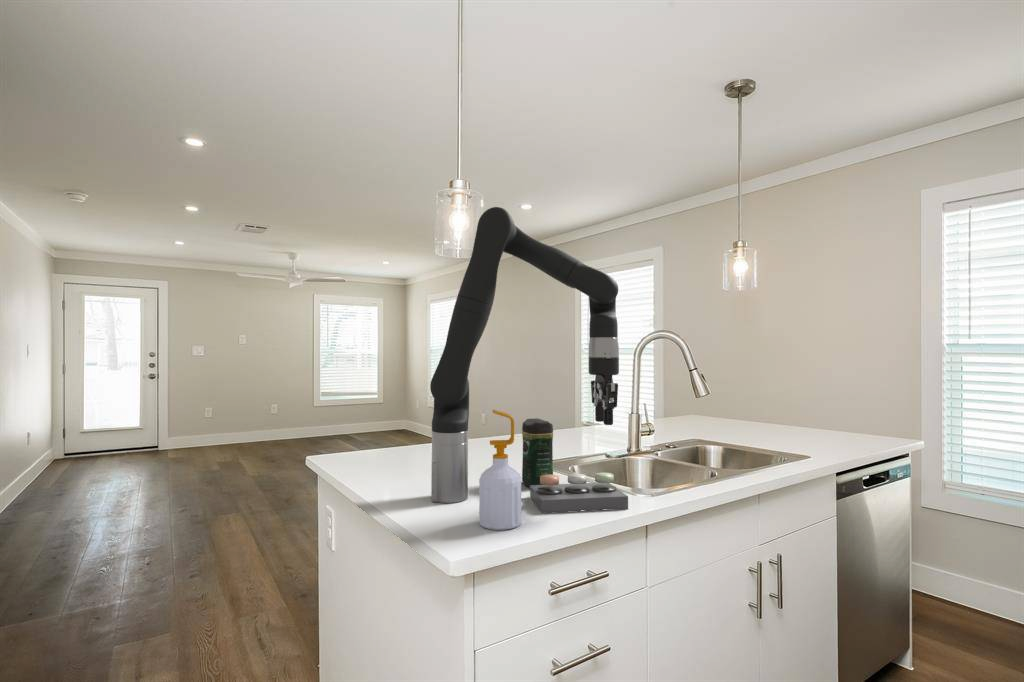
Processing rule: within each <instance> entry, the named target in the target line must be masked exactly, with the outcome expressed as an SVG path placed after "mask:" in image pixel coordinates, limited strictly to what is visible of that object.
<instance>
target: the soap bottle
mask: <svg viewBox="0 0 1024 682" xmlns="http://www.w3.org/2000/svg"><path fill="white" fill-rule="evenodd" d="M492 413H493V414H495V415H499V416H500V417H501V416H502V417H505V418H507V419H509V420H510V436H509V438H508V439H494V440H493V439H492V440H489V445H490V446H493V448H494V449H496V453H495V454H494V453H493V454H492V465H490V467H488V468H487V469H485V470H484V471H483V472H482V473H481V474H480V477H479V479H478V480H479V482H478V483H479V485H478V486H479V491H478V492H479V495H478V496H479V498H478V501H479V502H478V503H479V505H478V507H479V512H478V513H479V514H478V515H479V517H478V518H479V521H478V522H479V524H480V526H481V527H483V528H485V529H488V530H493V531H506V530H507V529H508V530H512V529H515V528H517V527H519V526H520V525H521V522H522V476H521V474H520V473H519V472H518V471H517V470H516V469H515V468H513V467H512V466H510V465H509V455H508V454H506V453H505V449H507V447H508V446H510V445H512V444H514V441H515V420H514V419H513V417H512V415H510V414H509V413H506V412H502V411H500V410H496V409H492Z"/></svg>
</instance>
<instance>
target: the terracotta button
mask: <svg viewBox="0 0 1024 682" xmlns="http://www.w3.org/2000/svg"><path fill="white" fill-rule="evenodd" d="M540 484H542V485H549V486H551V485H558V484H560V476H559V475H556V474H553V475H541V476H540Z"/></svg>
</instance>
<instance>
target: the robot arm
mask: <svg viewBox="0 0 1024 682" xmlns="http://www.w3.org/2000/svg"><path fill="white" fill-rule="evenodd" d="M474 237H475V238H474V243H473V247H472V253H471V257H470V260H469V263H468V265H467V267H466V270H465V273H464V276H463V278H462V282H461V284H460V288H459V291H458V293H457V296H456V300H455V304H454V306H453V310H452V314H451V318H450V322H449V326H448V331H447V335H446V341H445V345H444V349H443V350H442V354H441V357H440V359H439V362H438V364H437V366H436V369H435V371H434V373H433V375H432V378H431V380H430V384H429V386H430V387H429V388H430V393H431V395H432V397H433V414H432V419H431V475H430V477H431V486H430V487H431V492H430V493H431V497H430V498H431V502H432V503H435V502H436V503H445V504H446V503H447V504H449V503H450V504H452V503H460V502H463V501H466V500H467V499H469V496H468V495H469V479H468V478H469V417H470V382H469V378H468V377H469V372H470V368H471V367H470V366H471V362H472V360H473V359H472V358H473V356H474V353H475V351H476V349H477V346H478V344H479V342H480V341H481V338H482V336H483V333H484V332H485V329H486V326H487V324H488V321H489V318H490V315H491V312H492V308H493V306H494V301H495V295H496V288H497V279H498V272H499V266H500V261H501V258H502V256H503V254H504V253H506V254H509V255H511V256H513V257H516V258H518V259H520V260H522V261H524V262H526V263H528V264H530V265H531V266H533V267H535V268H536V269H538V270H539V271H541V272H543V273H544V274H546V275H548V276H550V277H551V278H553V280H556V281H558V282H560V283H561V284H563V285H565V286H567V287H569V288H571V289H576V290H578V291H579V292H581V293H583V294H585V295H586V296H588V301H589V302H588V303H589V304H588V305H589V318H590V319H589V324H588V325H589V328H588V329H589V335H588V336H589V340H588V341H589V342H588V374H589V375H591V376H595V378H594V380H590V388H591V389H590V390H591V393H590V394H591V403H592V404H593V406H594V407H595V409H594V413H595V414H594V415H595V416H594V417H595V418H594V421H596V422H598V423H599V422H600V423H601V422H602V423H603V425H604V426H612V425H613V424H614V409H615V408H618V397H619V396H618V393H619V392H618V391H619V384H618V382H614V381H613V380H614V379H613V376H617V375H619V373H620V351H619V349H620V348H619V347H620V346H619V339H618V333H619V332H618V318H617V316H616V315H617V314H616V308H617V307H616V305H617V303H616V302H617V296H618V294H619V284H618V282H617V281H616V280H615V279H614V278H613V277H612V276H610V275H609V274H607V273H605V272H603V271H601V270H599V269H596V268H594V267H591V266H589V265H587V264H585V263H584V262H582V261H580V260H579V259H577V258H575V257H574V256H572V255H570V254H569V253H566V252H565V251H563V250H561V249H558V248H556V247H553V246H551V245H548V244H545V243H542V242H541V241H539V240H536V239H535V238H533V237H531V236H530V235H528V234H527V233H525V232H524V231H522V230H521V229H520V228H519V227H518V226H516V225H515V222H514V219H513V217H512V216H511V214H510V213H509V211H507V210H506V209H505V208H503V207H500V206H493V207H489V208H487V209H486V210H485V211H484V212H483V213H482V214H481V216H480V217H479V219H478V221H477V227H476V232H475V236H474Z"/></svg>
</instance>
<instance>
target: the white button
mask: <svg viewBox="0 0 1024 682" xmlns="http://www.w3.org/2000/svg"><path fill="white" fill-rule="evenodd" d="M585 483H588V481H587V475H586V474H583V473H569V474H568V475H567V484H585Z"/></svg>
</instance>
